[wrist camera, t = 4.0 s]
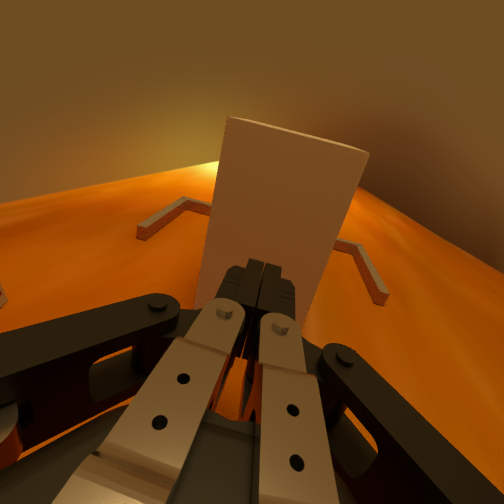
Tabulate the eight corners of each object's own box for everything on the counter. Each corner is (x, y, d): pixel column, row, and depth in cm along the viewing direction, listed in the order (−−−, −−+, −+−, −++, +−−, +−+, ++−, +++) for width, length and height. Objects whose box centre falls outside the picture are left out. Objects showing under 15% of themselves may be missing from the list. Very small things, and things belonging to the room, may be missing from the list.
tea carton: (294, 289, 28) (345, 144, 22) (294, 345, 21) (370, 153, 15) (218, 268, 29) (248, 119, 23) (192, 316, 21) (227, 116, 15)
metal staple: (357, 253, 42) (361, 244, 41) (383, 305, 29) (389, 294, 29) (181, 205, 42) (183, 196, 42) (136, 238, 30) (137, 225, 30)
